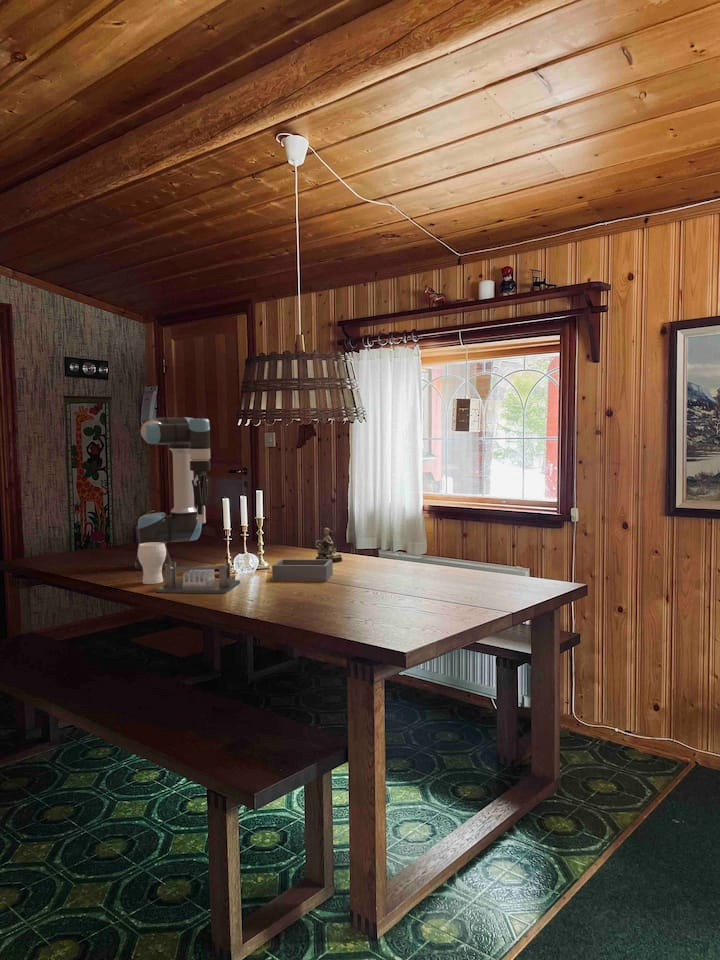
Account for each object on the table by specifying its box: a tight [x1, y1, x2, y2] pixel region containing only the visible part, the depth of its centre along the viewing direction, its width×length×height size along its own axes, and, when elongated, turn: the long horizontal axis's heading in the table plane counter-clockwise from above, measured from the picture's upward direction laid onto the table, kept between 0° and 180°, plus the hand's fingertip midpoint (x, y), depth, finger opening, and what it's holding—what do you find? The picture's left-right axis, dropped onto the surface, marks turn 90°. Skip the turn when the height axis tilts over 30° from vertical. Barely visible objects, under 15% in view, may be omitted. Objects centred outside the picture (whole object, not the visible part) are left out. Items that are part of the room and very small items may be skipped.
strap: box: [171, 563, 228, 572], centre depth 272 cm, size 23×3×2 cm, turn 83°
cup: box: [137, 542, 166, 585], centre depth 283 cm, size 11×11×15 cm
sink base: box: [155, 561, 241, 595], centre depth 272 cm, size 26×18×9 cm
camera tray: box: [271, 558, 334, 582], centre depth 289 cm, size 14×21×6 cm
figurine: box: [314, 527, 343, 564], centre depth 325 cm, size 12×11×15 cm
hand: (201, 522), depth 273 cm, fingers closed
